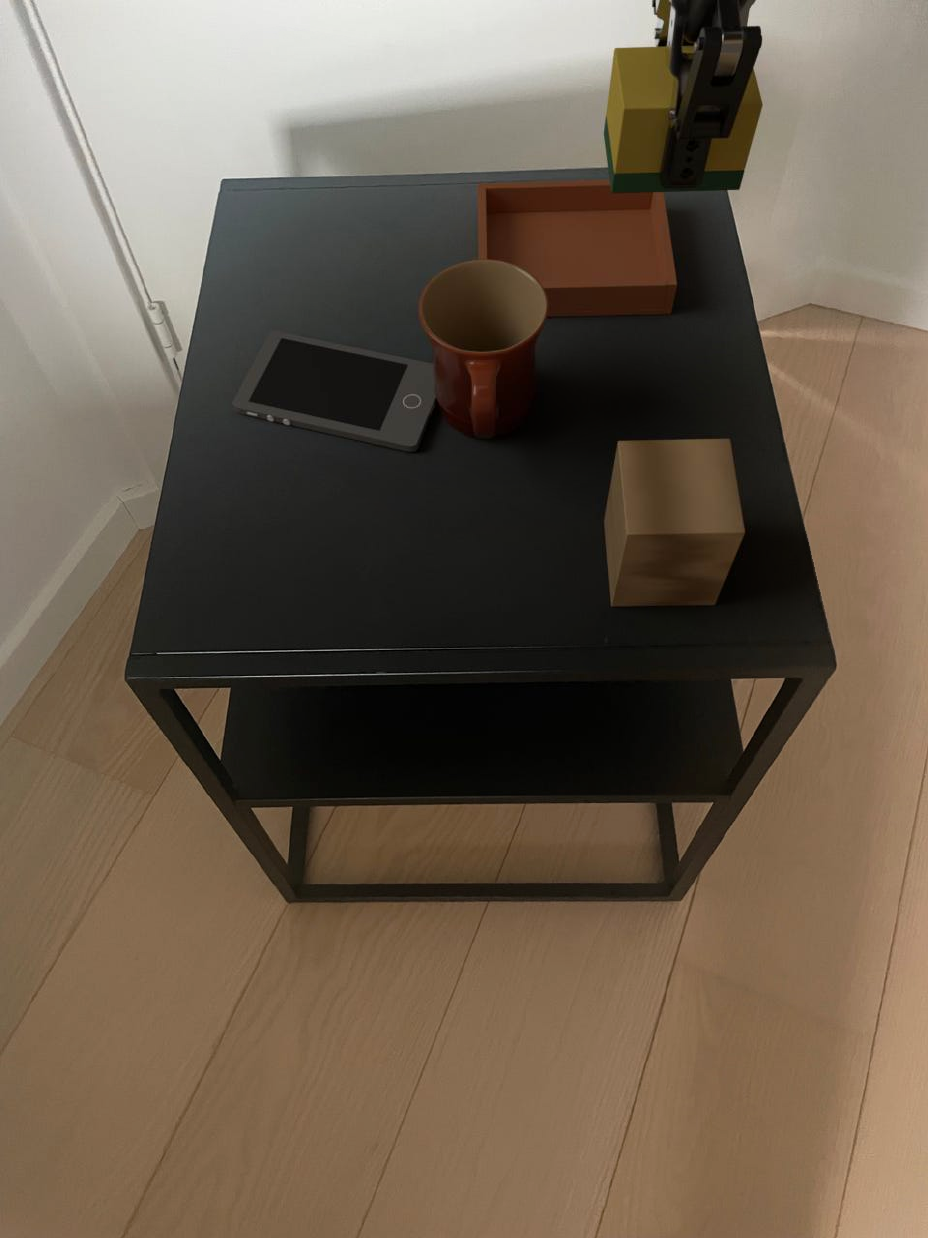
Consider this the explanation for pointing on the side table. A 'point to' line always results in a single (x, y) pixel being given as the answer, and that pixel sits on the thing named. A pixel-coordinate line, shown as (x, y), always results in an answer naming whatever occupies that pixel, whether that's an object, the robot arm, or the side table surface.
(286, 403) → the smartphone
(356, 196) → the side table surface
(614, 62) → the sponge
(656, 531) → the tall wooden block
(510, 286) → the mug
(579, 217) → the tray
